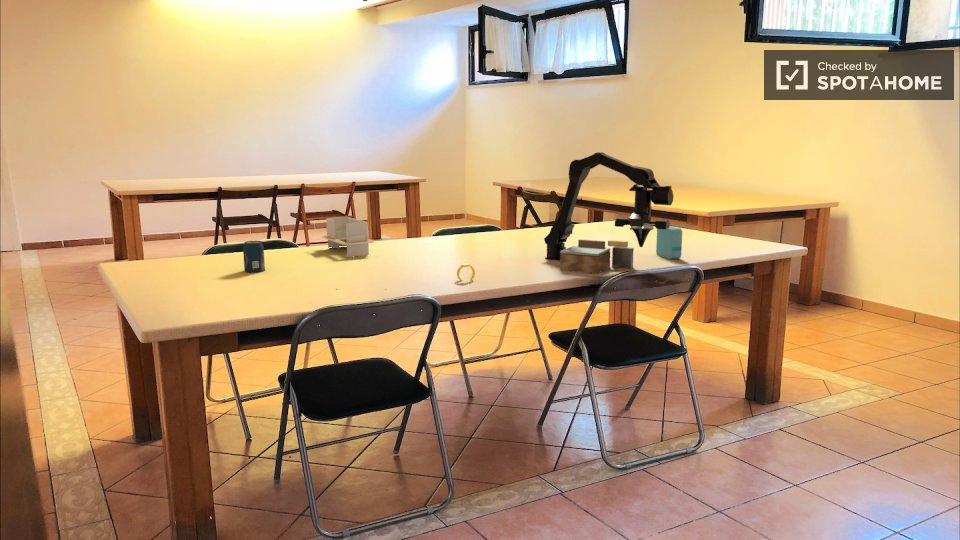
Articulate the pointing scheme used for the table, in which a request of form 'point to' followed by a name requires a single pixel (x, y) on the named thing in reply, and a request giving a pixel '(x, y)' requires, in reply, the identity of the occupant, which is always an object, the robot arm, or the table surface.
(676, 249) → the data package
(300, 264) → the table surface
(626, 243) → the bolt
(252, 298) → the table surface
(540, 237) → the table surface
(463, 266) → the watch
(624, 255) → the block
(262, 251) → the soda can
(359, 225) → the architectural model
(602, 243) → the box lid
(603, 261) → the storage box
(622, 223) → the robot arm
